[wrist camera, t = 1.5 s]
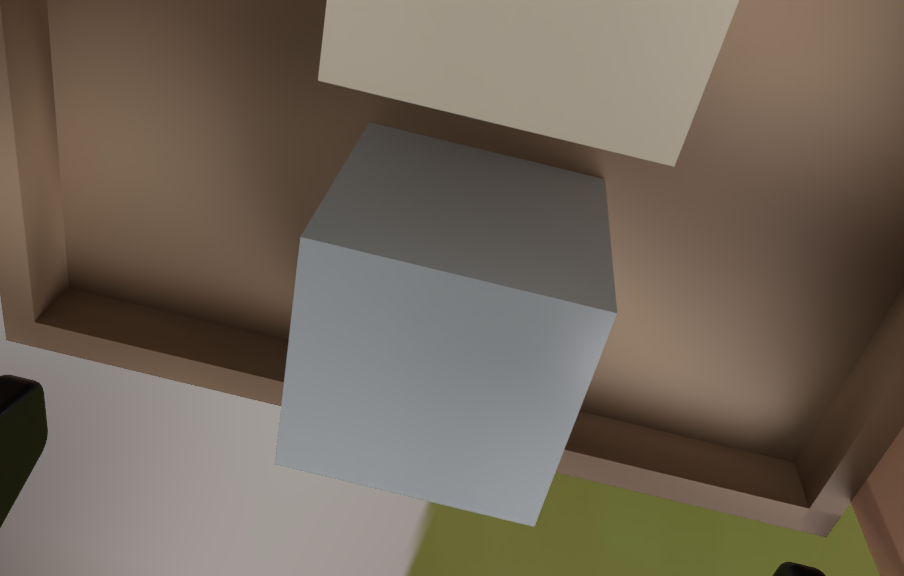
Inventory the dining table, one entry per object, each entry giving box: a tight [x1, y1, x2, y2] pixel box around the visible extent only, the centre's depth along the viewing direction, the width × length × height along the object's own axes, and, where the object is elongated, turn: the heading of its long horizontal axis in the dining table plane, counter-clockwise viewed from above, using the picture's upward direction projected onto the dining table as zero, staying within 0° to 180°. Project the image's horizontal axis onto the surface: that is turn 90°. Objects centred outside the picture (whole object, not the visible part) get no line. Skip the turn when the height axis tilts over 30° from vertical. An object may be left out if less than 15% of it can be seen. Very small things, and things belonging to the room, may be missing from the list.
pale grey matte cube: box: [275, 122, 617, 526], centre depth 13 cm, size 4×4×4 cm
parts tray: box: [0, 0, 904, 537], centre depth 12 cm, size 13×16×2 cm
